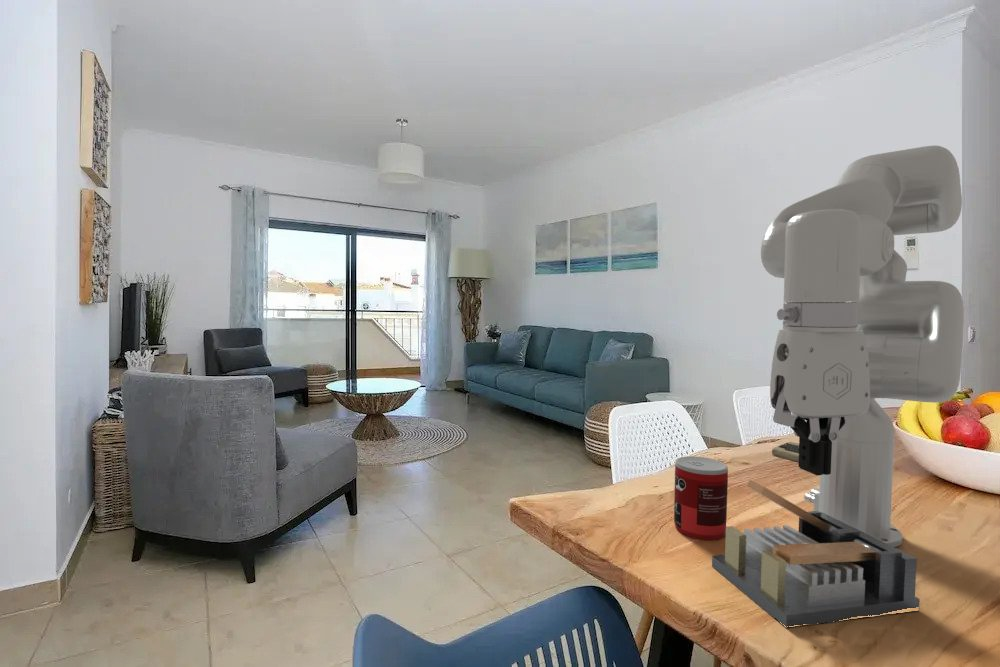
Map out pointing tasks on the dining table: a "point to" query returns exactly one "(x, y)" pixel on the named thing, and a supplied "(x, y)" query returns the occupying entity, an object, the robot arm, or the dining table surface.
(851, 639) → the dining table surface
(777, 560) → the heatsink block
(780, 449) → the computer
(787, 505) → the strap
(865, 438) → the robot arm
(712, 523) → the canned food
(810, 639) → the dining table surface
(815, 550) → the near strap
